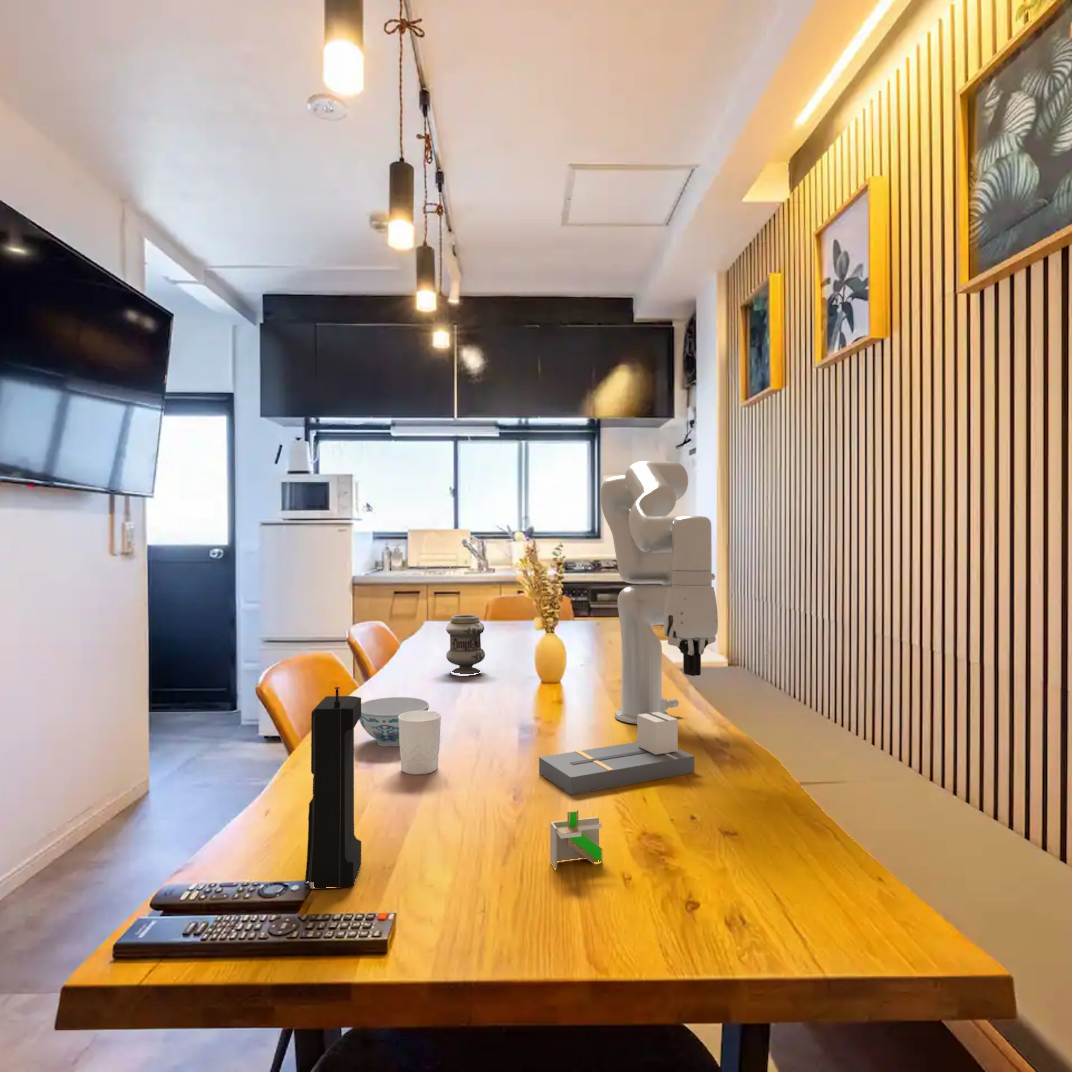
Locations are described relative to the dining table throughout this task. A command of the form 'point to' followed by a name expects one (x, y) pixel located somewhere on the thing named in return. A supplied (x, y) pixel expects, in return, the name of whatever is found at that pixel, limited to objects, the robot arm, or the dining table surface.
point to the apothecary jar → (465, 643)
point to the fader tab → (657, 733)
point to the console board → (612, 767)
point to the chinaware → (387, 717)
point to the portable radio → (333, 794)
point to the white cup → (419, 741)
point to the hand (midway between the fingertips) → (692, 674)
